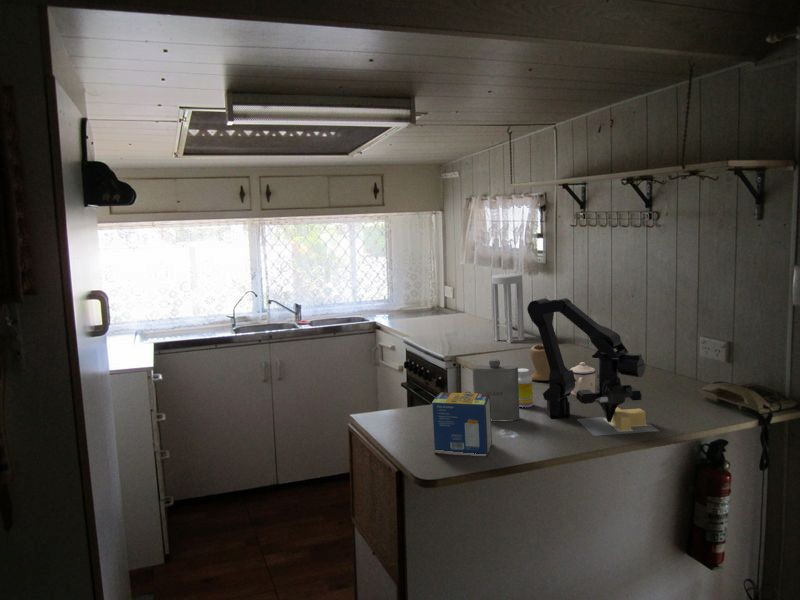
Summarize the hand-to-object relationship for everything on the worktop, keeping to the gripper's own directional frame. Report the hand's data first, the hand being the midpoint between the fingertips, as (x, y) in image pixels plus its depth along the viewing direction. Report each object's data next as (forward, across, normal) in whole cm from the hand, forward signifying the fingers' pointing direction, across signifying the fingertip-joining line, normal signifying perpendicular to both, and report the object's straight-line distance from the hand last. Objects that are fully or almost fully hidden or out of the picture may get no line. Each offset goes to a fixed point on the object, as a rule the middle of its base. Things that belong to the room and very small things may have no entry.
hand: (609, 421), depth 196 cm
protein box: (+2, -47, -10) cm, 48 cm away
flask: (+2, -32, +15) cm, 36 cm away
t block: (+1, +6, 0) cm, 6 cm away
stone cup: (+2, -2, +57) cm, 57 cm away
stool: (+1, 0, +141) cm, 141 cm away
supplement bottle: (+2, -20, +27) cm, 34 cm away
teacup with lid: (+2, +4, +35) cm, 35 cm away
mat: (+1, +2, 0) cm, 3 cm away
